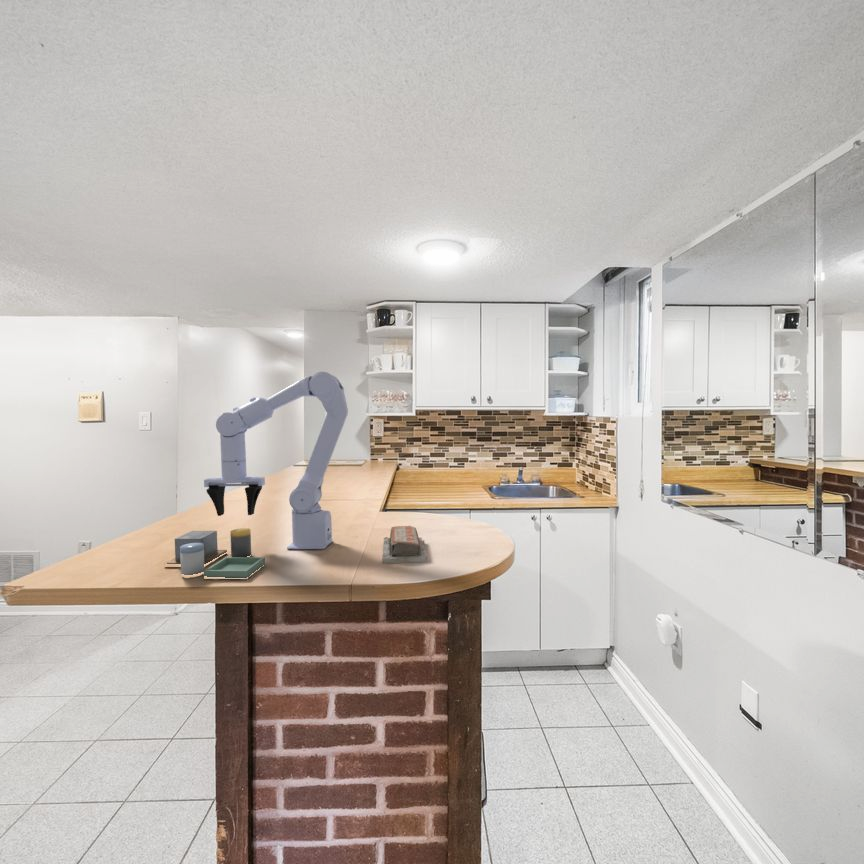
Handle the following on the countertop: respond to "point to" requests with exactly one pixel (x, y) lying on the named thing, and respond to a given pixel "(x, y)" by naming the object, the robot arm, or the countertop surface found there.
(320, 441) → the robot arm
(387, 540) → the packaged product
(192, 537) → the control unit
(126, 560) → the countertop surface
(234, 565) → the parts tray
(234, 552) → the amber part
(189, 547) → the blue part
